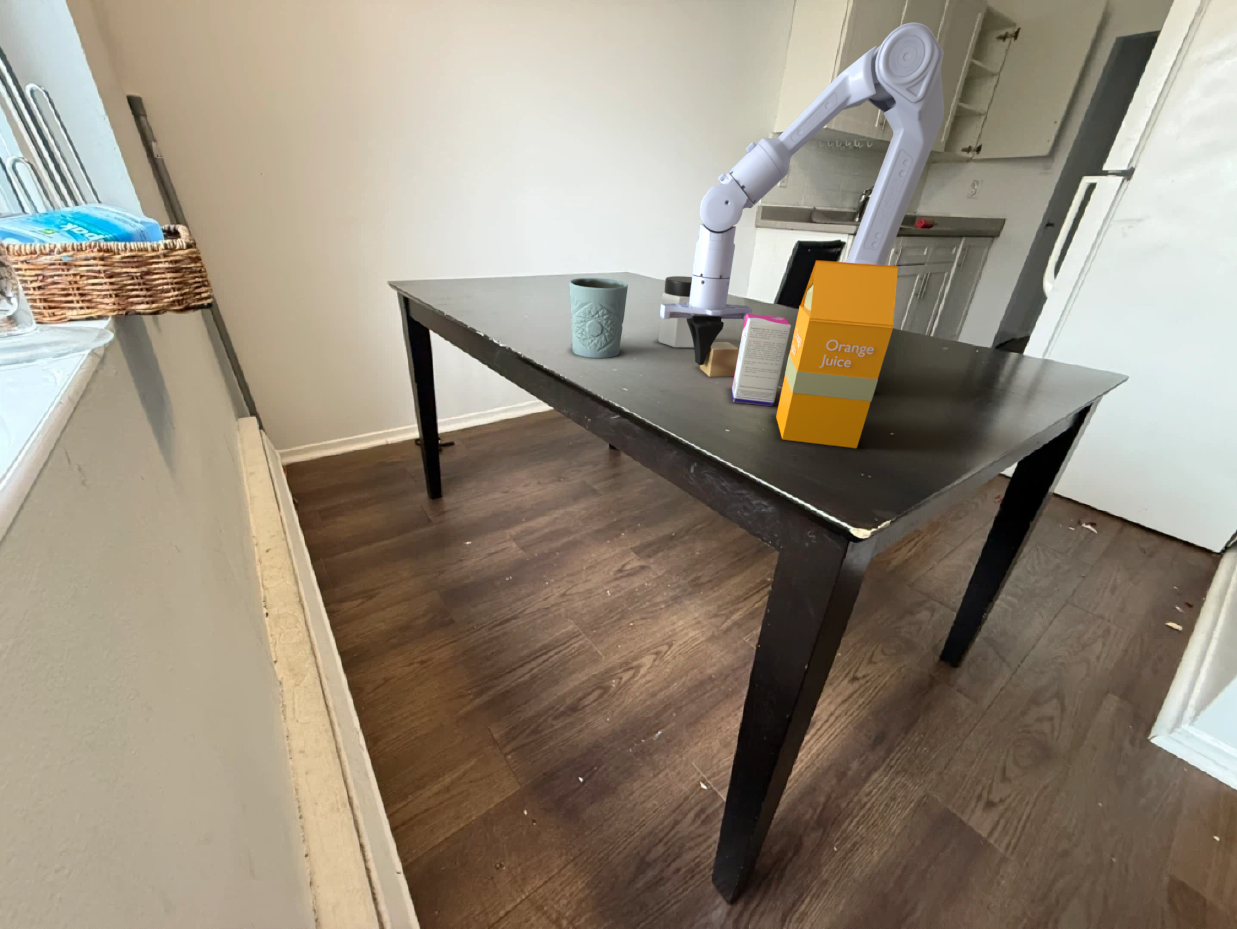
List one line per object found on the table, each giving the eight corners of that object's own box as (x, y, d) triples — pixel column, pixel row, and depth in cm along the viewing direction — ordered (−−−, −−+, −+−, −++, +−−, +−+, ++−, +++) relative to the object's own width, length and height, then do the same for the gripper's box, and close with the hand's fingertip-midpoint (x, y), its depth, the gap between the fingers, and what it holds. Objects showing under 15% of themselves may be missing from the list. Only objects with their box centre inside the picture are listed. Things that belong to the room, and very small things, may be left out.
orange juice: (857, 448, 60) (911, 270, 51) (781, 439, 61) (820, 264, 52) (843, 423, 67) (888, 262, 58) (775, 416, 68) (809, 256, 59)
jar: (695, 337, 105) (703, 276, 100) (708, 348, 98) (716, 283, 92) (653, 337, 104) (658, 275, 98) (663, 348, 97) (669, 281, 91)
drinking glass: (599, 341, 98) (601, 276, 93) (636, 354, 92) (640, 285, 86) (557, 349, 92) (557, 280, 86) (593, 363, 86) (595, 289, 80)
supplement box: (775, 406, 71) (792, 324, 66) (732, 402, 72) (746, 320, 67) (770, 393, 76) (786, 316, 71) (730, 389, 77) (743, 312, 72)
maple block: (724, 368, 87) (728, 342, 85) (735, 376, 83) (739, 349, 81) (699, 368, 86) (703, 342, 84) (709, 376, 82) (713, 349, 80)
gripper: (674, 278, 72) (664, 371, 78) (767, 281, 75) (750, 370, 81) (659, 271, 78) (651, 358, 84) (746, 274, 81) (732, 357, 87)
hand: (699, 363), depth 83 cm, fingers closed
